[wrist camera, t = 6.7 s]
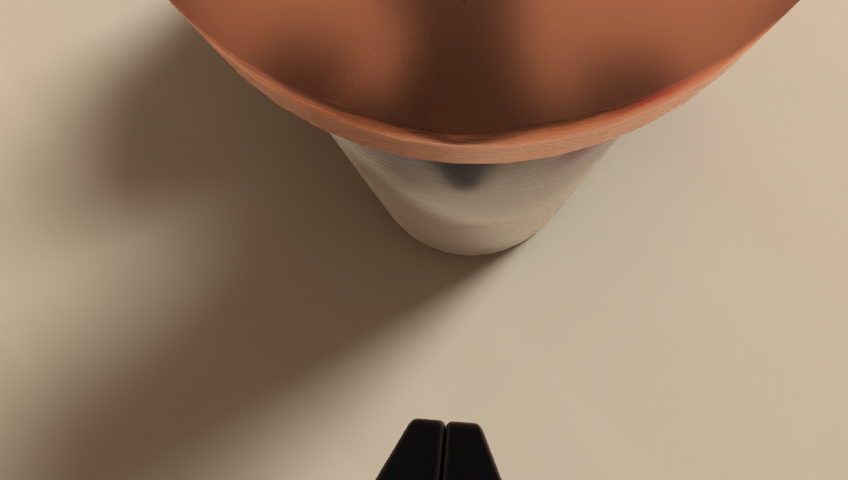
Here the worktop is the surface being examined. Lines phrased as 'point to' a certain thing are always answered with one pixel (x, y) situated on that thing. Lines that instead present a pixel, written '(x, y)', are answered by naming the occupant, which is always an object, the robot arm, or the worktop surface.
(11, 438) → the worktop surface
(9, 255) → the worktop surface
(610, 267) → the worktop surface
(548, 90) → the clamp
